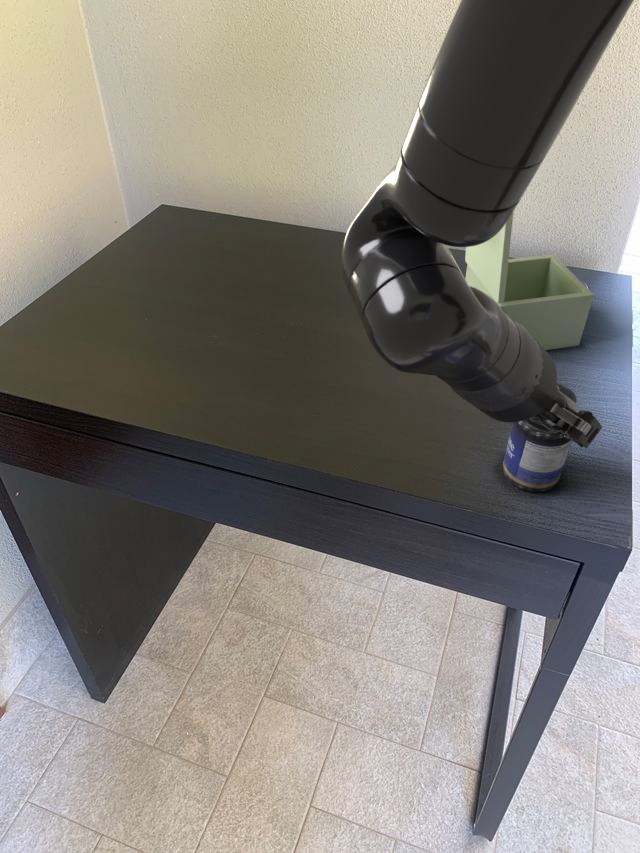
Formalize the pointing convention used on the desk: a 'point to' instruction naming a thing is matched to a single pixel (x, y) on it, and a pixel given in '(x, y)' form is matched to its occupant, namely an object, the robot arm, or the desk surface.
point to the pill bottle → (536, 453)
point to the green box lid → (492, 261)
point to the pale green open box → (544, 299)
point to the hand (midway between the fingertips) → (554, 416)
